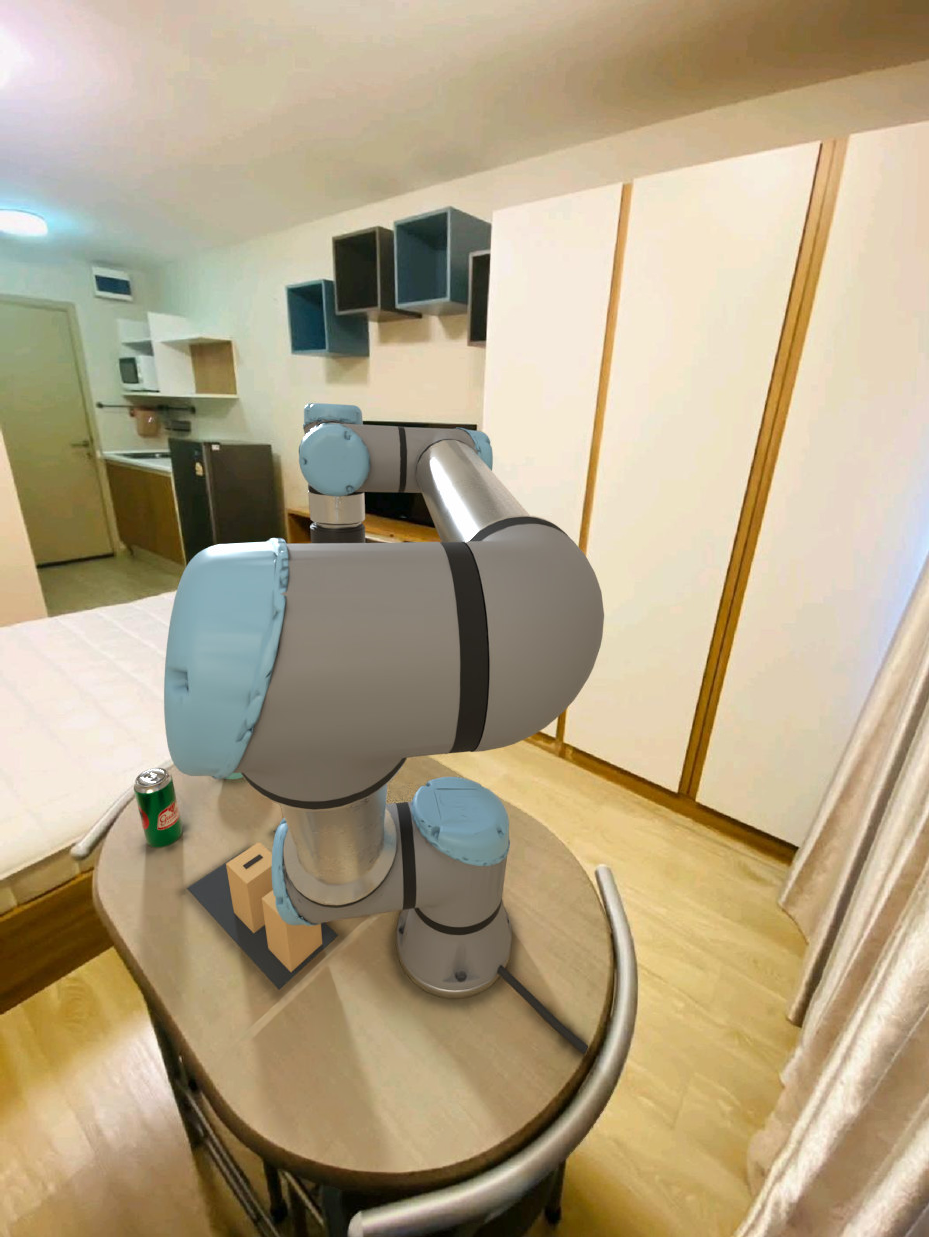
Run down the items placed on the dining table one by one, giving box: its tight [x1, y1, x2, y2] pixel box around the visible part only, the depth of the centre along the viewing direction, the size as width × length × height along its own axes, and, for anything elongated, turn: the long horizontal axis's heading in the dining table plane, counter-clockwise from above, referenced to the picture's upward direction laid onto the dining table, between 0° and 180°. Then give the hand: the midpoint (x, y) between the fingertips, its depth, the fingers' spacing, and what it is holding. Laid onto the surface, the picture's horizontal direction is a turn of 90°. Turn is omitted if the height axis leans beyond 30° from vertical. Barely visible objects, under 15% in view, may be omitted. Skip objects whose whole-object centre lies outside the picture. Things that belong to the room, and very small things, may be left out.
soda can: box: [133, 767, 183, 849], centre depth 80 cm, size 5×5×12 cm
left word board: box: [186, 841, 339, 991], centre depth 70 cm, size 22×9×10 cm, turn 53°
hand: (343, 658), depth 81 cm, fingers open, 13 cm apart
